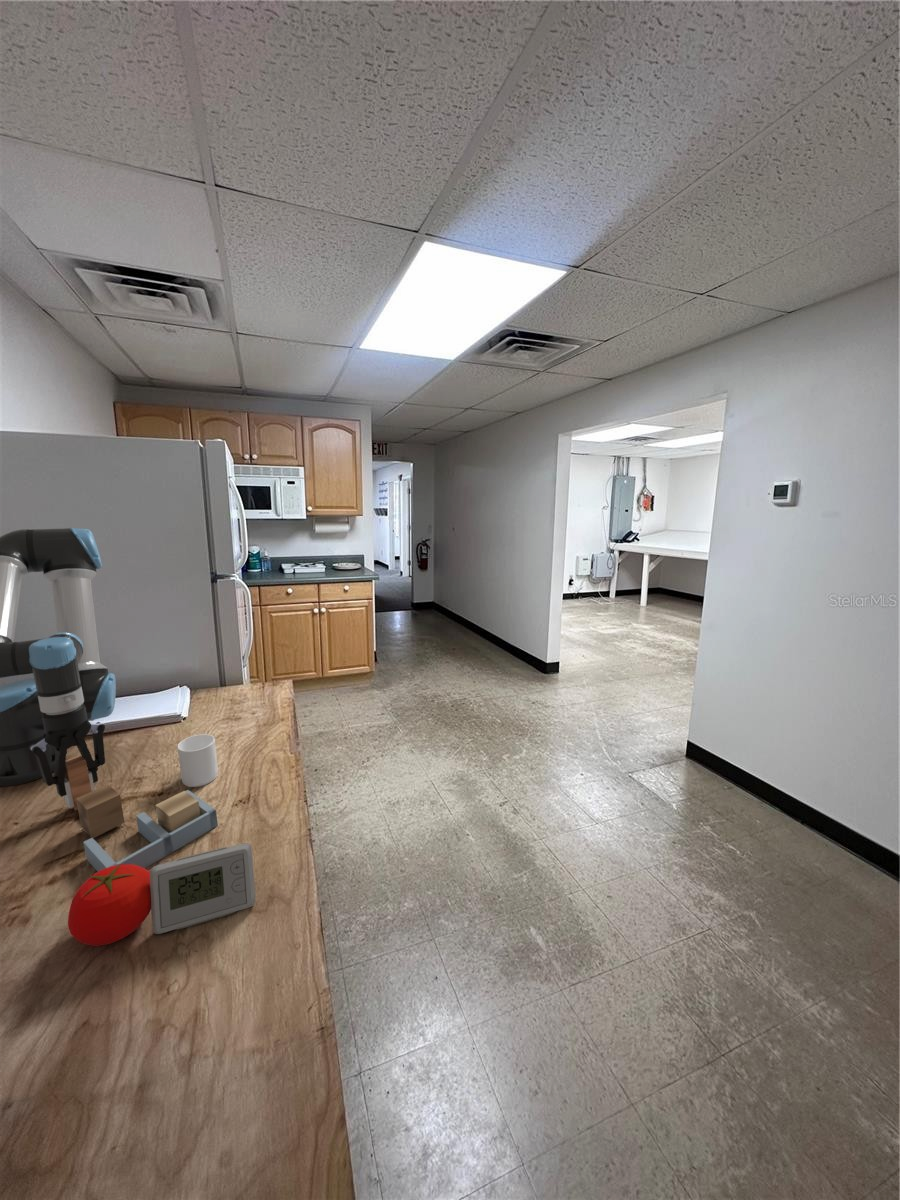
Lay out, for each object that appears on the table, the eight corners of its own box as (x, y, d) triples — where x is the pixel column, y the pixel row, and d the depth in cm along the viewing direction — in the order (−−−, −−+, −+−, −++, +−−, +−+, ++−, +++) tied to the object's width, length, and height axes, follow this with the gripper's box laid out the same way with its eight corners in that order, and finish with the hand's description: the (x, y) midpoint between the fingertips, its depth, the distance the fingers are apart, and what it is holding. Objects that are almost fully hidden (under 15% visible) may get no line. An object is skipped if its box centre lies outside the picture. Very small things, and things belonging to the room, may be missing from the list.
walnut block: (62, 807, 107) (54, 764, 105) (93, 793, 112) (86, 752, 110) (92, 838, 98) (83, 792, 96) (124, 822, 103) (117, 778, 100)
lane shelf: (86, 858, 94) (83, 842, 93) (189, 804, 111) (187, 789, 110) (111, 887, 88) (108, 869, 87) (217, 825, 104) (216, 809, 103)
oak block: (159, 833, 102) (155, 804, 100) (187, 817, 106) (184, 790, 105) (173, 845, 98) (169, 816, 97) (201, 828, 103) (198, 800, 102)
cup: (182, 791, 115) (177, 754, 113) (181, 766, 125) (177, 732, 123) (219, 781, 119) (215, 746, 117) (216, 758, 129) (212, 725, 127)
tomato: (84, 912, 83) (74, 862, 80) (164, 890, 87) (157, 842, 85) (62, 971, 73) (50, 916, 70) (154, 943, 77) (145, 890, 75)
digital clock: (147, 940, 78) (138, 887, 75) (168, 895, 86) (160, 846, 84) (251, 924, 81) (246, 873, 78) (261, 882, 90) (256, 834, 87)
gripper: (19, 728, 95) (41, 827, 100) (113, 699, 108) (128, 788, 113) (8, 717, 99) (29, 813, 104) (100, 690, 112) (115, 777, 117)
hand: (81, 800), depth 109 cm, fingers closed on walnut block, 3 cm apart
